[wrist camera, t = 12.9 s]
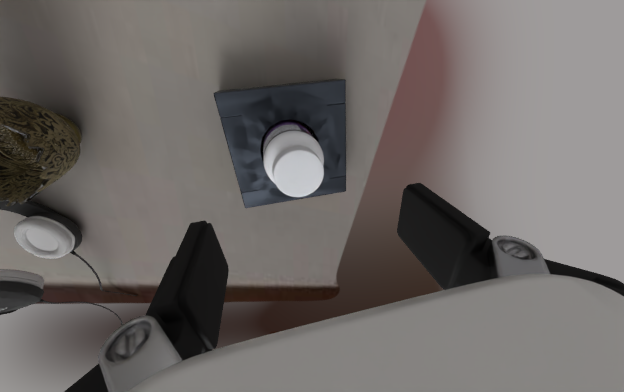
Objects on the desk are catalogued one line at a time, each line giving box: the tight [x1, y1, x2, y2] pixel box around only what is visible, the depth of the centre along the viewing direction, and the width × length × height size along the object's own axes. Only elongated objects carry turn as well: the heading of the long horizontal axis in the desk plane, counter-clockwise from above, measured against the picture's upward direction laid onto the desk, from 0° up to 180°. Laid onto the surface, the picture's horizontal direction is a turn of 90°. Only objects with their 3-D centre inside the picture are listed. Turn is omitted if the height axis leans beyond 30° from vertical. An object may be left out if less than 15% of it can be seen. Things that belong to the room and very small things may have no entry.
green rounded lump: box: [0, 97, 82, 206], centre depth 17 cm, size 8×7×8 cm
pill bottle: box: [263, 120, 324, 197], centre depth 21 cm, size 5×5×10 cm
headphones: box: [0, 200, 136, 325], centre depth 23 cm, size 10×4×20 cm
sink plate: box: [214, 79, 346, 208], centre depth 24 cm, size 12×12×3 cm
